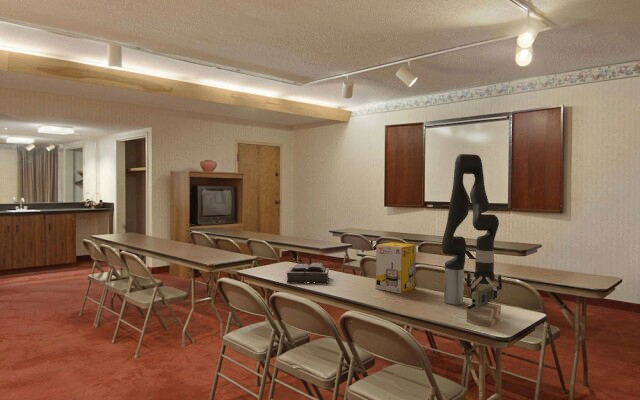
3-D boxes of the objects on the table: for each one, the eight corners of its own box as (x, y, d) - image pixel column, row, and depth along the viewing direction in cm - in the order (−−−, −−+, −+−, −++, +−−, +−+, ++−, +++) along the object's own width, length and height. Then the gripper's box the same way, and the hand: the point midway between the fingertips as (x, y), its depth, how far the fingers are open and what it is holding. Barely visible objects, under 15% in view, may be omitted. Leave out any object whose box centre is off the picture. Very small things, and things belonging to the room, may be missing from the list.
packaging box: (415, 288, 255) (416, 244, 255) (401, 293, 243) (402, 247, 242) (390, 284, 266) (391, 242, 265) (375, 288, 253) (376, 244, 252)
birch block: (477, 316, 202) (478, 301, 202) (500, 321, 195) (500, 305, 195) (466, 322, 193) (466, 306, 193) (489, 327, 186) (489, 310, 186)
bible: (324, 286, 260) (325, 269, 259) (280, 283, 266) (281, 266, 266) (334, 278, 282) (334, 262, 282) (293, 275, 289) (293, 260, 289)
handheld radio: (495, 300, 203) (472, 311, 184) (488, 299, 205) (464, 310, 186) (495, 286, 203) (472, 295, 184) (488, 285, 205) (464, 294, 186)
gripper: (502, 260, 194) (501, 297, 195) (467, 258, 200) (467, 294, 200) (502, 263, 187) (501, 301, 188) (466, 260, 193) (465, 298, 193)
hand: (483, 297), depth 194 cm, fingers open, 8 cm apart
